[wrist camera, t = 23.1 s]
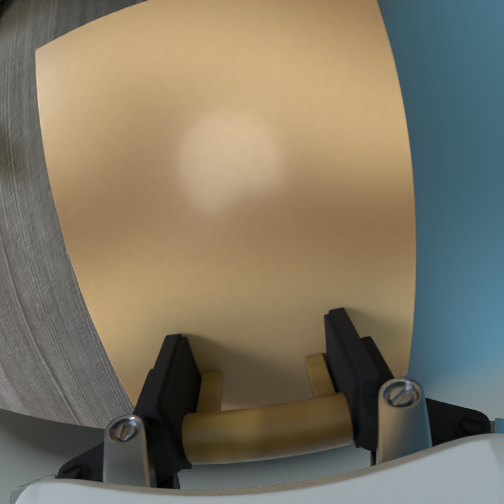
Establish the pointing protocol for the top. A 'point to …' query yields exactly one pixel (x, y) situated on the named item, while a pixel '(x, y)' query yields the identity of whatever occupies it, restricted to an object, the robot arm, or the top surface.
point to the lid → (236, 203)
